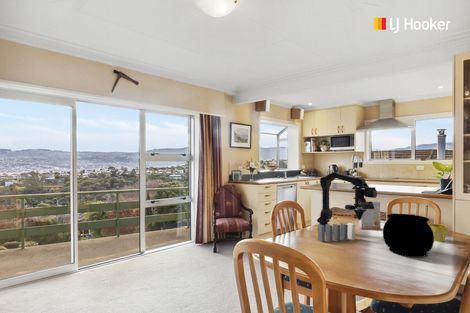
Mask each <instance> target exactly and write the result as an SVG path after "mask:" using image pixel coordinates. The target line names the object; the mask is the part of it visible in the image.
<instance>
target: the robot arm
mask: <svg viewBox="0 0 470 313" xmlns="http://www.w3.org/2000/svg"><path fill="white" fill-rule="evenodd" d="M335 179H337V180H341V181H345V182H348V183H350V184H351V185H353V186H352V188H351V190H354V197H353V199H354V203H353V204H345V206H344V209H345V210H347V211H354V213H355V216H356V218H357V220H358V221H359V220H361V218H362V215H363V213H364V212H365V211H367V210H366V209H374V205H373V202H372V201H373V200H368V201H369V202H366V201H367V199H366V198H371V199H376V198H377V196H378V192H377V188H376V186H375V187H373V186H372V187H371V186H369V184H368V183H367V182H366V179H365V178H364V177H360V176H350V175H346V174H344V173H341V172H337V171H333V172H331V173H329V174H328V175H325V176H322V177H320V179H319V184H320V187H321V190H322V191H321V192H322V193H321V195H322V196H321V197H322V198H321V200H322V203H321V204H322V206H321V207H322V209H321V211H320V214H319V217H318V218H317V219H316V221H317V223H318V225H323V226H325V224H329V223H330V221H331V220H332V217H333V211H332V210H331V209H330V188H331V187H332V182H333V181H335ZM365 197H366V198H365Z"/></svg>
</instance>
